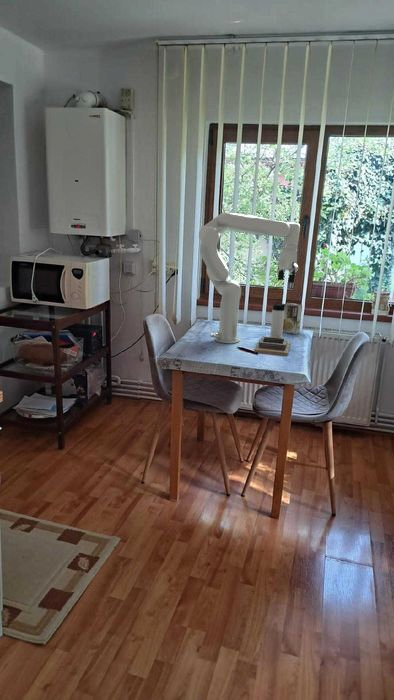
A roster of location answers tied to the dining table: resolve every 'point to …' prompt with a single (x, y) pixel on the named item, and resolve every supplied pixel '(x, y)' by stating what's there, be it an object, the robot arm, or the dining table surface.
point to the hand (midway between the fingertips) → (285, 281)
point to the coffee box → (292, 318)
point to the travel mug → (277, 320)
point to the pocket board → (273, 345)
